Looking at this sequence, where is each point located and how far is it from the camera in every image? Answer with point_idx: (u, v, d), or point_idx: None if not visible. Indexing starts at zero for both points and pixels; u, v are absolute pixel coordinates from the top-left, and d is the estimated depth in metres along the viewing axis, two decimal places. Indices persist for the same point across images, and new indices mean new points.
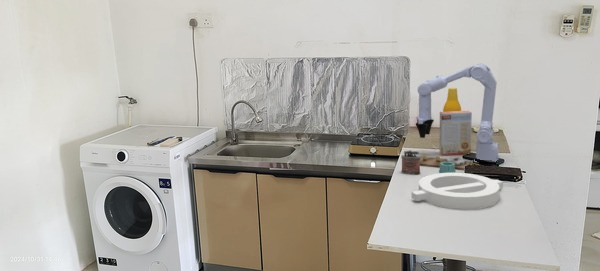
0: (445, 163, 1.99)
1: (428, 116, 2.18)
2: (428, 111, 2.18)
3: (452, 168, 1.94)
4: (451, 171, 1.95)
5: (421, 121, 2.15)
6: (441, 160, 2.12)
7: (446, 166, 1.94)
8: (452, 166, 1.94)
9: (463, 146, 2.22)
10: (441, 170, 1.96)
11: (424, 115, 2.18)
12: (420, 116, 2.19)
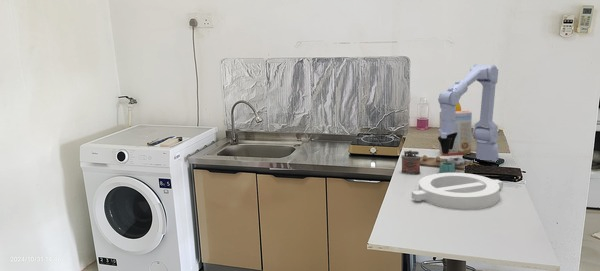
0: (445, 163, 1.99)
1: (452, 129, 1.91)
2: (452, 123, 1.90)
3: (452, 168, 1.94)
4: (451, 171, 1.95)
5: (444, 135, 1.87)
6: (441, 160, 2.12)
7: (446, 166, 1.94)
8: (452, 166, 1.94)
9: (463, 146, 2.22)
10: (441, 170, 1.96)
11: (447, 128, 1.91)
12: (443, 129, 1.92)
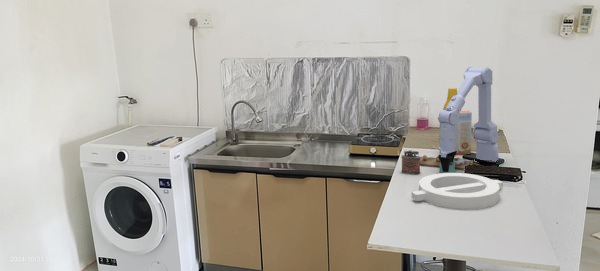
0: None
1: (452, 148, 1.93)
2: (452, 142, 1.92)
3: (452, 168, 1.94)
4: (451, 171, 1.95)
5: (444, 154, 1.89)
6: None
7: None
8: (452, 166, 1.94)
9: (463, 146, 2.22)
10: (441, 170, 1.96)
11: (447, 147, 1.92)
12: (442, 148, 1.94)
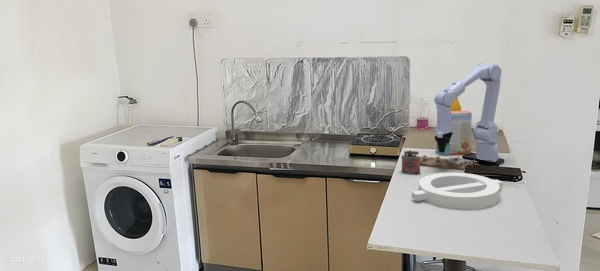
0: None
1: (448, 129, 1.97)
2: (448, 123, 1.96)
3: (448, 149, 1.99)
4: (447, 152, 1.99)
5: (440, 134, 1.94)
6: (441, 160, 2.12)
7: None
8: (448, 147, 1.99)
9: (463, 146, 2.22)
10: (437, 151, 2.01)
11: (443, 128, 1.97)
12: (439, 129, 1.98)
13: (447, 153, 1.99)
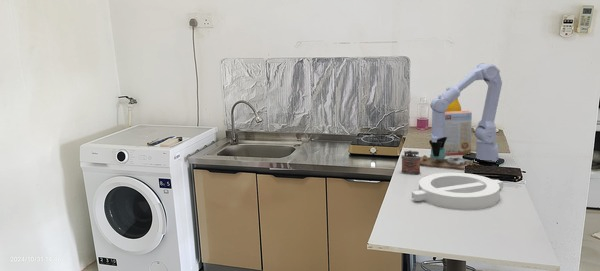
0: None
1: (442, 134, 2.05)
2: (442, 128, 2.05)
3: (442, 153, 2.07)
4: (441, 155, 2.08)
5: (435, 139, 2.02)
6: (441, 160, 2.12)
7: None
8: (442, 151, 2.07)
9: (463, 146, 2.22)
10: (432, 155, 2.09)
11: (438, 133, 2.05)
12: (433, 133, 2.07)
13: (441, 157, 2.08)
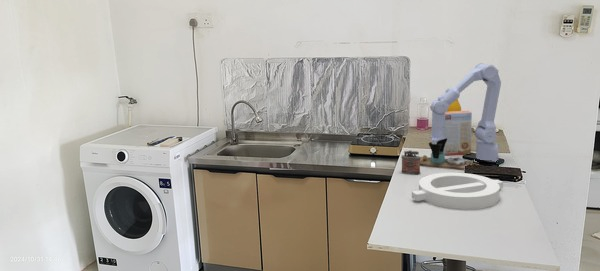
0: None
1: (442, 135, 2.06)
2: (442, 130, 2.05)
3: (442, 157, 2.08)
4: (441, 160, 2.08)
5: (435, 141, 2.02)
6: None
7: None
8: (442, 155, 2.08)
9: (463, 146, 2.22)
10: (432, 159, 2.10)
11: (438, 134, 2.05)
12: (433, 135, 2.07)
13: (441, 161, 2.08)
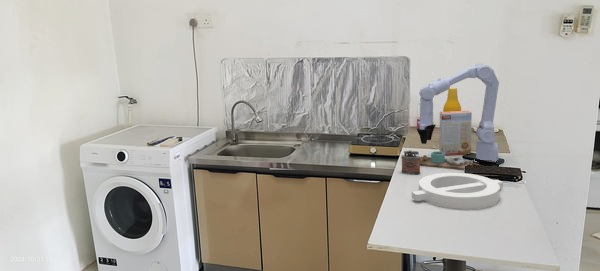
0: (436, 153, 2.12)
1: (430, 121, 2.09)
2: (430, 116, 2.09)
3: (442, 157, 2.08)
4: (441, 160, 2.08)
5: (422, 126, 2.06)
6: None
7: (436, 155, 2.08)
8: (442, 155, 2.08)
9: (463, 146, 2.22)
10: (432, 159, 2.10)
11: (426, 120, 2.09)
12: (421, 121, 2.10)
13: (441, 161, 2.08)
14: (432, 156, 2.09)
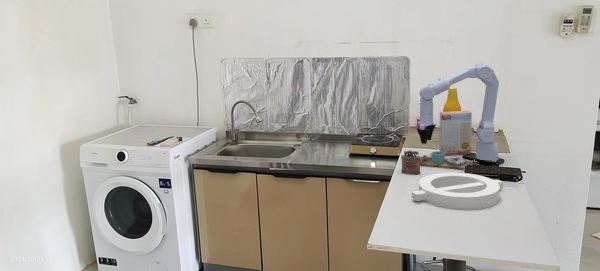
0: (436, 153, 2.12)
1: (430, 121, 2.09)
2: (430, 116, 2.09)
3: (442, 157, 2.08)
4: (441, 160, 2.08)
5: (422, 126, 2.06)
6: None
7: (436, 155, 2.08)
8: (442, 155, 2.08)
9: (463, 146, 2.22)
10: (432, 159, 2.10)
11: (426, 120, 2.09)
12: (421, 121, 2.10)
13: (441, 161, 2.08)
14: (432, 156, 2.09)
